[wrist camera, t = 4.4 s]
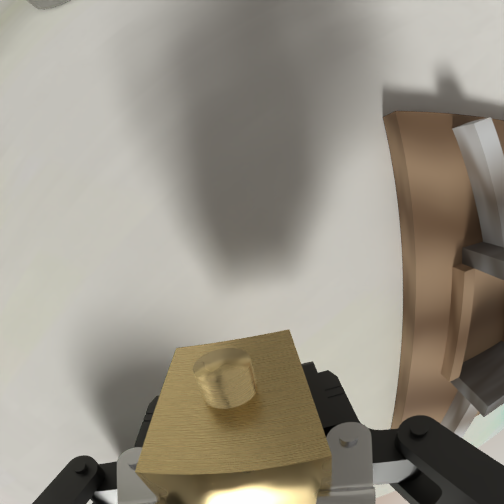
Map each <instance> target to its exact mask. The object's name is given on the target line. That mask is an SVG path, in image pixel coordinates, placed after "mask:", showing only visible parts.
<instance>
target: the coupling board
mask: <svg viewBox="0 0 504 504" xmlns="http://www.w3.org/2000/svg"><path fill="white" fill-rule="evenodd" d="M383 120H384V124H385V129H386V133H387V138H388V143H389V148H390V153H391V159H392V165H393V171H394V177H395V184H396V191H397V199H398V207H399V217H400V228H401V241H402V258H403V329H402V346H401V359H400V370H399V379H398V387H397V395H396V401H395V408H394V414H393V420H392V425H391V429H398V428H399V426H400V424H401V423H402V422H403V421H404V420H406V419H407V418H410V417H412V416H416V415H425V416H429V417H431V418H433V419H435V420H436V421H437V422H439V423H440V424H442V425H443V426H445V427H446V428H448V429H449V430H451V431H452V432H453V433H455V434H456V435H458V436H459V437H461V438H462V437H463V435H464V434H465V432H466V431H467V429H468V427H469V426H470V424H471V422H472V421H473V419H474V417H476V416H477V415H479V414H480V413H481V415H482V416H483V417H485V416H486V415H487V414H489V413H490V412H492V411H493V410H495V409H496V408H497V407H499V406H500V405H502V404H503V403H504V121H503V120H497V119H492V118H491V117H489V118H484V117H476V116H468V115H459V114H448V113H434V112H414V111H395V112H392V113H390V114H388V115H386V116H384V117H383Z"/></svg>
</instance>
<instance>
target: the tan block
mask: <svg viewBox="0 0 504 504" xmlns="http://www.w3.org/2000/svg"><path fill="white" fill-rule="evenodd" d="M135 473H136V474H137V475H138V476H139V478H140V479H141V480H142V481H143V482H144V483H145V484H146V486H147V487H148V488H149V489H150V490H151V491H152V492H159V493H160V494H161V495H162V497H163V498H164V499H165V500H166V504H316V500H317V495H318V491H319V490H320V486H321V479H323V478H327V477H330V476H332V454H331V451H330V448H329V445H328V442H327V439H326V436H325V433H324V430H323V427H322V424H321V421H320V418H319V415H318V412H317V409H316V406H315V403H314V401H313V398H312V395H311V392H310V389H309V386H308V383H307V380H306V377H305V374H304V371H303V368H302V365H301V362H300V359H299V356H298V354H297V351H296V348H295V345H294V342H293V339H292V336H291V333H290V330H284V331H279V332H274V333H269V334H264V335H258V336H253V337H247V338H242V339H236V340H230V341H224V342H217V343H210V344H204V345H196V346H189V347H181V348H176V351H175V353H174V356H173V359H172V362H171V364H170V367H169V370H168V373H167V376H166V379H165V381H164V384H163V387H162V390H161V393H160V396H159V399H158V402H157V405H156V408H155V411H154V414H153V417H152V420H151V423H150V426H149V429H148V432H147V435H146V438H145V441H144V444H143V447H142V450H141V454H140V457H139V460H138V463H137V466H136V470H135Z"/></svg>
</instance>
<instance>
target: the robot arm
mask: <svg viewBox="0 0 504 504" xmlns="http://www.w3.org/2000/svg"><path fill="white" fill-rule="evenodd" d="M27 1H28V2H29V3H31V4H32V5H33V6H35V7H36V8H38V9H49V8H53V7H56V6H59V5H61V4H63V3H65V2H68V1H70V0H27ZM301 365H302V368H303V371H304V374H305V377H306V380H307V383H308V386H309V389H310V392H311V395H312V398H313V401H314V403H315V406H316V409H317V412H318V415H319V418H320V421H321V424H322V427H323V430H324V433H325V436H326V439H327V442H328V445H329V448H330V451H331V454H332V476H330V477H327V478H323V479H321V486H320V490H319V491H318V495H317V500H316V504H375V488H374V487H373V485H380V484H390V485H391V486H392V487H393V488H394V489H395V490H396V491H397V492H398V493H399V494H400V495H401V496H402V497H403V498H404V499H406V500H407V501H408V502H409V503H410V504H504V466H503V465H502V464H500V463H499V462H497V461H496V460H494V459H493V458H491V457H489V456H488V455H486V454H485V453H483V452H482V451H480V450H479V449H477V448H476V447H474V446H473V445H471V444H470V443H468V442H467V441H465V440H464V439H462V438H461V437H459V436H458V435H456V434H455V433H453V432H452V431H451V430H449V429H448V428H446V427H445V426H443V425H442V424H440V423H439V422H437V421H436V420H435V419H433V418H431V417H429V416H425V415H416V416H412V417H410V418H407V419H406V420H404V421H403V422H402V423H401V424H400V426H399V428H398V429H389V430H373V429H369V428H367V427H366V426H365V425H363V424H361V423H360V422H359V420H358V418H357V416H356V414H355V412H354V410H353V408H352V406H351V404H350V402H349V400H348V397H347V395H346V394H345V391H344V389H343V387H342V385H341V383H340V381H339V379H338V377H337V376H336V375H334V374H333V373H331V372H330V371H329V370H327V371H323V372H319V373H317V370H316V368H315V365H314V363H313V361H312V362H308V363H303V364H301ZM158 399H159V396H156V397H155V399H154V400H153V401H152V402H151V403H150V404H149V406H148V409H147V412H146V415H145V417H144V422H143V423H142V426H141V429H140V431H139V434H138V437H137V440H136V443H135V446H134V448H131V449H128V450H126V451H124V452H123V453H122V454H121V455H120V456H119V458H118V460H117V462H111V463H105V464H98V463H97V462H96V461H95V460H94V459H93V458H92V457H90V456H78V457H76V458H74V459H72V460H71V461H70V462H69V463H68V464H67V465H66V467H65V468H64V469H63V470H62V471H61V472H60V473H59V474H58V476H57V477H56V478H55V479H54V480H53V481H52V482H51V483H50V484H49V486H48V487H47V488H46V489H45V490H44V491H43V492H42V493H41V495H40V496H39V497H38V498H37V499H36V500H35V501H34V502H33V503H32V504H86V503H87V502H88V501H89V499H91V500H92V501H93V503H92V504H166V500H165V499H164V498H163V497H162V495H161V494H160V493H159V492H152V491H151V490H150V489H149V488H148V487H147V486H146V484H145V483H144V482H143V481H142V480H141V479H140V478H139V476H138V475H137V474H136V473H135V470H136V466H137V463H138V460H139V457H140V454H141V450H142V447H143V444H144V441H145V438H146V435H147V432H148V429H149V426H150V423H151V420H152V417H153V414H154V411H155V408H156V405H157V402H158Z"/></svg>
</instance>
